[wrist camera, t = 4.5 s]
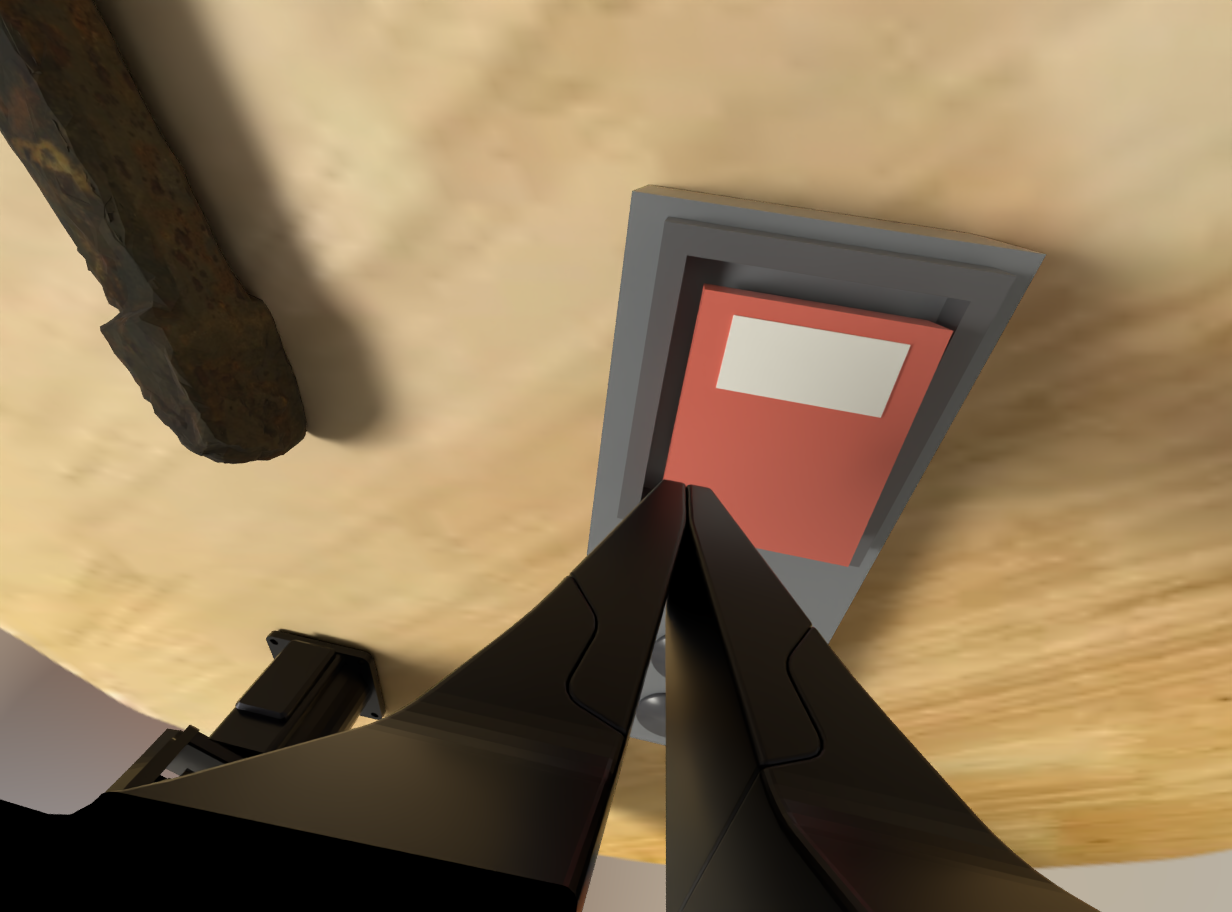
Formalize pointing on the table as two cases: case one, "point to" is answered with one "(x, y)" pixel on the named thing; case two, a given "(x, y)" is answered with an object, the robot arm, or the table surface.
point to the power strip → (803, 269)
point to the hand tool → (143, 237)
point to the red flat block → (798, 414)
